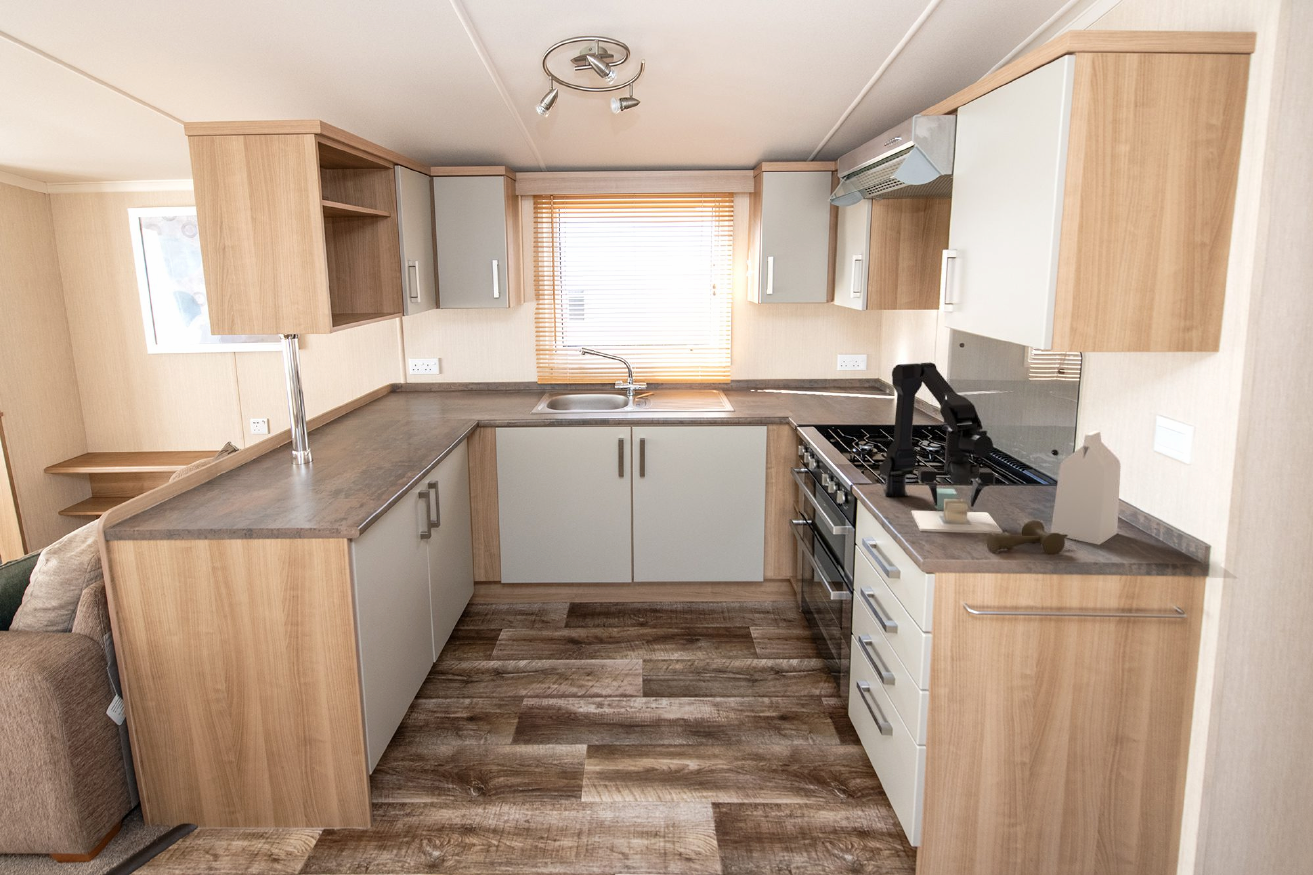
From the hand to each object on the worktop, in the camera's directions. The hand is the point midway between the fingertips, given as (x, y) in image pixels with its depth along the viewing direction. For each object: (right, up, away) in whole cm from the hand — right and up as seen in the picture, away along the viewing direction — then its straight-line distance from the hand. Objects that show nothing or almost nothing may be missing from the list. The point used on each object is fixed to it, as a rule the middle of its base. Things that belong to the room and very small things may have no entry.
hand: (953, 506), depth 215 cm
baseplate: (0, -4, -1) cm, 4 cm away
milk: (+28, -6, -12) cm, 31 cm away
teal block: (+2, -2, +12) cm, 13 cm away
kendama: (+10, -9, -22) cm, 25 cm away
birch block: (0, -4, -1) cm, 4 cm away
